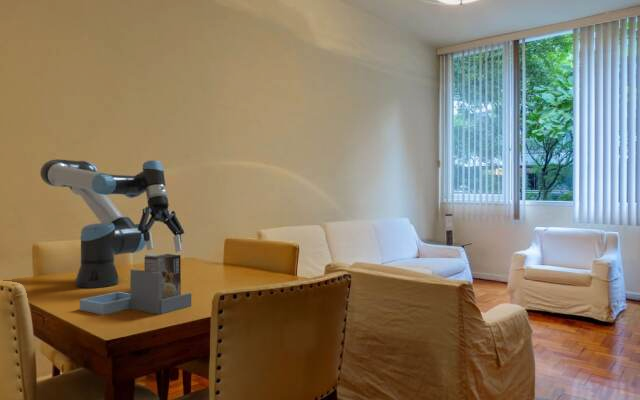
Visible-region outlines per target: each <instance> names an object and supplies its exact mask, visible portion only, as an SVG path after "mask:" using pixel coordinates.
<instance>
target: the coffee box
mask: <svg viewBox="0 0 640 400" xmlns="http://www.w3.org/2000/svg"><path fill="white" fill-rule="evenodd" d="M155 255H156V256H148V257H145V256H144V271H151V272H158V273H162V299H166V298H170V297H174V296H178V295H182V294H181V293H182V292H181V290H182V289H181V287H182V286H181V279H182V278H181V272H182V271H181V269H182V268H181V266H182V264H181V263H182V262H181V255H180V254H171V253H167V254H166V253H164V254H158V255H157V254H155Z"/></svg>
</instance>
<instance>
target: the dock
mask: <svg viewBox="0 0 640 400" xmlns="http://www.w3.org/2000/svg"><path fill="white" fill-rule="evenodd" d="M129 278H130V280H129V281H130V284H129V285H130V287H129V288H130V291H129V294H130V308H129V309H130V310H134V311H139V312H145V313H150V314H154V315H163V314H168V313H170V312H175V311H179V310H182V309H185V308H190V307H192V292H187V293H186V292H185V293H183V294H181V295H178V296H174V297H170V298H166V299H162V273H158V272H151V271H145V270H141V269H130V277H129Z"/></svg>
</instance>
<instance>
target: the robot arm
mask: <svg viewBox="0 0 640 400" xmlns="http://www.w3.org/2000/svg"><path fill="white" fill-rule="evenodd" d="M39 174H40V177H41V180H42V181H43V182H45V183H46V184H47V185H49V186H52V187H62V188H63V187H64V188H66V187H67V188H70V190H71V192H72V193H73V194H75V195H78V196H80V197H81V198H82V200H83V201H84V202H85V204H86V205H87V207H88V208H89V209H90V210H91V211H92V213H93V214H94V215H95V217H96V218H97V220H98V221H99V222H100V223H98V222H97V223H92V224H88V225H85V226H83V227H82V229H81V232H80V238H79V239H80V267H79V269H78V272H77V274H76V278H75V283H74V284H75V285H74V286H75V287H77V288H85V289H86V288H87V289H89V288H91V289H92V288H104V287H111V286H115V285H117V284H119V282H120V281H119V280H120V278H119V277H120V276H119V274H118V271H117V268H116V265H115V256H116V255H124V254H134V253H138V252H141V251H142V250H143V249H144V248H146V251H148V252H149V251H150V250H151V251H152V249H154V244H153V243H154V242H153V235H152V231H150V229H151V228H152V227H153V225H154V223H155V222H160V223H162V224H165V225H166V226H167V228H168V229H169V230H170V232H171V233H172V234H173V235H174V236H173V244H174V251H175V253H176V254H177V253H179V252H182V251H183V249H182V248H183V247H182V235H184V234H185V230H184V229H183V226H182V225H181V223H180V221H179V219H178V217H177V216H176V211H174V210H172V211H169V206H170V205H169V199H168V193H167V185H166V181H165V180H166V179H165V173H164V167H163V164H162V162H161V161H159V160H155V159H152V160H147V161H145V162H143V164H142V171H141V172H139V173H137V174H136V175H127V174H126V175H124V174H123V175H122V174H109V173H104V172H99V170H98V168H97V166H96V165H95V164H93V163H92V162H89V161H87V160H86V161H85V160H73V159H72V160H71V159H70V160H69V159H58V158H57V159H56V158H55V159H51V160H48V161H46V162H45V163H44V164H42V166H41V168H40V173H39ZM145 193H146V200H147V206H146V207H144V208H142V215H141V219H140V221H139V223H137V224H135V222H134V221H132V219H131V218H130V217H129V216H124V215H123V214H122V213H121V211H120V210H119V209H118V208H117V205H115V204H114V202H113V201H112V200H111V199H110V197H109V196H108V195H124V196H125V197H126V198H129V199H135V198H137V197H140V196H141V195H143V194H145ZM150 215H151V216H150ZM149 217H150V218H149Z"/></svg>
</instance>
